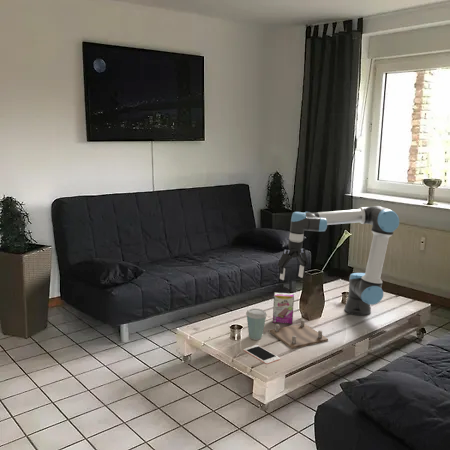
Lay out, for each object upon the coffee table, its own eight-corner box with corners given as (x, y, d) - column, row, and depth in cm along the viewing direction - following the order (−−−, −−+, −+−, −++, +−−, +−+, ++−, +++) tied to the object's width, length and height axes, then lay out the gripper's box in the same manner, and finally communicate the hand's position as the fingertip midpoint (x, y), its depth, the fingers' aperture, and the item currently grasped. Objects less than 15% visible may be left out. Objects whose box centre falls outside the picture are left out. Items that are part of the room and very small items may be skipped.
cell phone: (266, 365, 233) (266, 363, 233) (242, 350, 247) (242, 348, 247) (280, 359, 238) (280, 358, 238) (256, 346, 252) (256, 344, 252)
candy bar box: (272, 323, 280) (273, 295, 277) (272, 319, 285) (273, 292, 282) (292, 324, 279) (294, 296, 276) (292, 320, 284) (293, 293, 281)
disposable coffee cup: (253, 331, 269) (254, 305, 266) (270, 337, 262) (271, 310, 259) (241, 338, 261) (242, 310, 258) (258, 343, 254) (259, 316, 251)
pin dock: (303, 325, 278) (304, 317, 277) (328, 341, 258) (328, 332, 257) (269, 332, 268) (269, 323, 267) (292, 348, 249) (292, 340, 248)
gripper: (308, 237, 281) (303, 274, 285) (273, 240, 267) (269, 278, 271) (317, 241, 275) (312, 278, 279) (282, 243, 261) (278, 282, 265)
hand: (291, 278), depth 275 cm, fingers open, 13 cm apart
